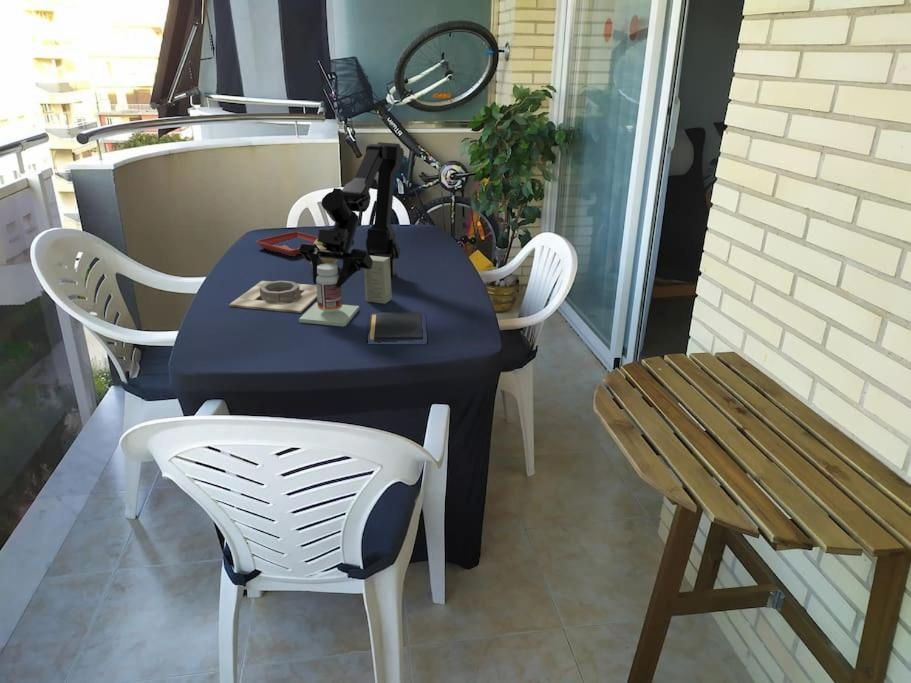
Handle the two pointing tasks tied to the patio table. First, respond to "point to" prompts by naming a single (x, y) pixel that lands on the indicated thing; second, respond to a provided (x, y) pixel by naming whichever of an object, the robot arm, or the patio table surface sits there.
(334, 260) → the beige toy figure
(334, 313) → the green mat
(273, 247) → the red square frame
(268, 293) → the collar plate
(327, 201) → the robot arm
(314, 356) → the patio table surface
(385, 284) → the skincare box
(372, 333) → the dark book
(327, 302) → the pill bottle
